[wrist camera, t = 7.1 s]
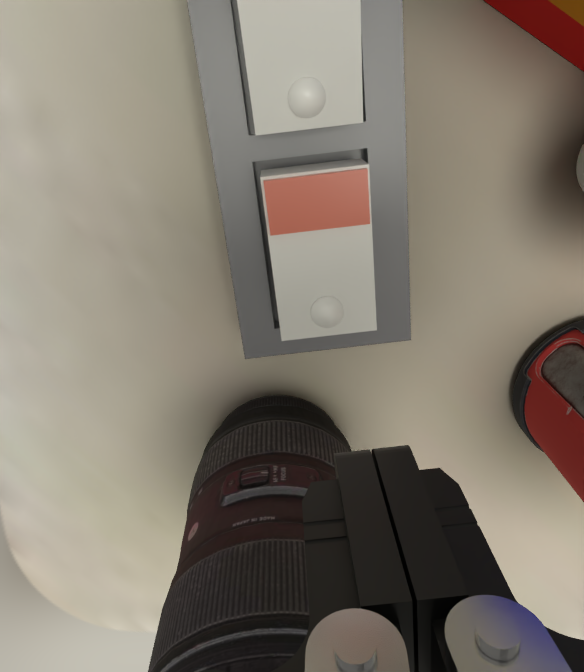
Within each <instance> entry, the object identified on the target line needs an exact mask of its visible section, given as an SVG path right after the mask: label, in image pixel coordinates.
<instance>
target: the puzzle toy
mask: <svg viewBox="0 0 584 672" xmlns="http://www.w3.org/2000/svg"><path fill="white" fill-rule="evenodd" d="M484 1H485V2H486V3H488V4H489V5H491V6H492V7H493V8H495V9H496V10H498V11H499V12H500V13H502V14H503V15H505V16H506V17H508V18H509V19H510V20H512V21H513V22H515V23H516V24H517V25H519V26H520V27H522V28H523V29H524V30H526V31H527V32H529V33H530V34H531V35H533V36H534V37H536V38H537V39H539V40H540V41H541V42H543V43H544V44H546V45H547V46H548V47H550V48H551V49H553V50H554V51H555V52H557V53H558V54H560V55H561V56H562V57H564V58H565V59H567V60H568V61H569V62H571V63H572V64H574V65H575V66H577V67H578V68H579V69H581V70H582V71H584V0H484Z"/></svg>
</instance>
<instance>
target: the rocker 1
mask: <svg viewBox="0 0 584 672" xmlns="http://www.w3.org/2000/svg"><path fill="white" fill-rule="evenodd" d="M237 4H238V11H239V19H240V26H241V33H242V40H243V47H244V55H245V62H246V69H247V76H248V84H249V91H250V98H251V105H252V113H253V120H254V127H255V134H256V136H257V135H265V134H273V133H282V132H290V131H298V130H306V129H315V128H323V127H331V126H340V125H348V124H356V123H363V94H362V46H361V0H237Z"/></svg>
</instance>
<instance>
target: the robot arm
mask: <svg viewBox="0 0 584 672" xmlns="http://www.w3.org/2000/svg"><path fill="white" fill-rule="evenodd" d="M334 462H335V472H336V479H335V480H326V481H317V482H311V483H310V486H309V488H308V490H307V492H306V494H305V496H304V498H303V500H302V511H303V525H304V541H305V555H306V570H307V585H308V600H309V627H308V632H307V634H306V637H305V639H304V641H303V643H302V645H301V647H300V648H299V649H298V651H297V652H296V653H295V654H294V655H293V656H292V657H291V658H290V659H289V660H288V661H287V662H286V663H284V664H283V665H282V666H280V667H278V668H277V669H275V670H273V671H271V672H584V640H580V639H575V638H571V637H568V636H565V635H562V634H559V633H557V632H555V631H553V630H551V629H549V628H547V627H545V626H544V625H543V624H542V622H541V621H540V620H539V619H538V618H537V617H536V616H535V615H534V614H533V613H532V612H530V611H529V610H528V609H527V608H525V607H523V606H522V605H520V604H518V602H517V601H516V599H515V598H514V596H513V594H512V592H511V590H510V588H509V586H508V584H507V582H506V580H505V578H504V576H503V574H502V572H501V570H500V568H499V566H498V564H497V562H496V560H495V558H494V556H493V554H492V552H491V549H490V547H489V545H488V543H487V541H486V539H485V537H484V535H483V533H482V531H481V529H480V527H479V526H478V525H477V521H476V519H475V517H474V515H473V513H472V511H471V509H469V504H468V502H467V500H466V498H465V496H464V494H463V492H462V490H461V488H460V486H459V484H458V483H457V482H455V481H454V480H453V479H452V478H451V477H450V476H448V475H447V474H446V473H445V472H444V471H442V470H441V469H440V468H435V469H426V470H419V468H418V466H417V463H416V461H415V458H414V456H413V453H412V451H411V449H410V447H409V446H408V445H405V446H396V447H387V448H378V449H372V454H371V451H370V450H361V451H352V452H343V453H334ZM199 672H225V671H221V670H204V671H199Z"/></svg>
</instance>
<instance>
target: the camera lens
mask: <svg viewBox="0 0 584 672" xmlns="http://www.w3.org/2000/svg"><path fill="white" fill-rule="evenodd" d="M343 452H352V451H351V449H350V446H349V444H348V442H347V440H346V438H345V437H344V435H343V434H342V433H341V432H340V430H339V429H338V428H337V427H336V426H335V425H334V423H333V421H332V420H331V419H330V418H329V416H328V415H327V414H326V413H325V412H324V411H322V410H321V409H320V408H318V407H317V406H315V405H313V404H312V403H310V402H308V401H305V400H303V399H300V398H296V397H292V396H266V397H262V398H258V399H254V400H251V401H249V402H247V403H245V404H244V405H242V406H240V407H238V408H237V409H236V410H234V411H233V412H232V413H231V414H230V415H229V416H228V417H227V418H226V419H225V420H224V422H223V423H222V425H221V426H220V428H219V429H218V430H217V431H216V432H215V433H214V435H213V436H212V437H211V439H210V441H209V442H208V444H207V446H206V448H205V450H204V453H203V457H202V459H201V462H200V464H199V466H198V469H197V472H196V474H195V477H194V481H193V485H192V489H191V494H190V499H189V504H188V509H187V521H186V526H185V531H184V536H183V541H182V546H181V552H180V558H179V562H178V566H177V571H176V574H175V576H174V578H173V580H172V583H171V586H170V589H169V592H168V595H167V598H166V600H165V603H164V606H163V609H162V613H161V617H160V622H159V626H158V630H157V634H156V639H155V643H154V647H153V652H152V656H151V661H150V665H149V670H148V672H199V671H204V670H221V671H225V672H271V671H273V670H275V669H277V668H278V667H280V666H282V665H283V664H284V663H286V662H287V661H288V660H289V659H290V658H291V657H292V656H293V655H294V654H295V653H296V652H297V651H298V649H299V648H300V647H301V645H302V643H303V641H304V639H305V637H306V634H307V632H308V627H309V600H308V585H307V570H306V555H305V541H304V525H303V511H302V500H303V498H304V496H305V494H306V492H307V490H308V488H309V486H310V483H311V482H317V481H326V480H335V479H336V472H335V462H334V453H343Z"/></svg>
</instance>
